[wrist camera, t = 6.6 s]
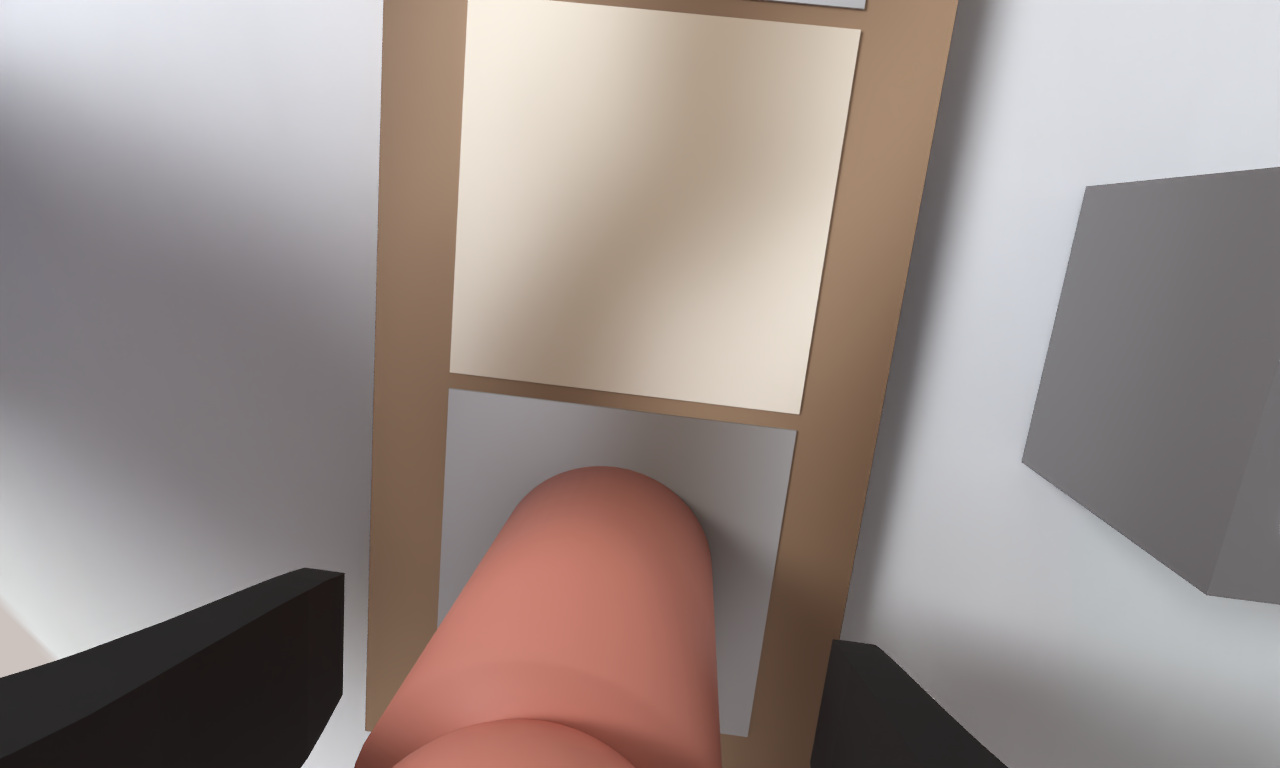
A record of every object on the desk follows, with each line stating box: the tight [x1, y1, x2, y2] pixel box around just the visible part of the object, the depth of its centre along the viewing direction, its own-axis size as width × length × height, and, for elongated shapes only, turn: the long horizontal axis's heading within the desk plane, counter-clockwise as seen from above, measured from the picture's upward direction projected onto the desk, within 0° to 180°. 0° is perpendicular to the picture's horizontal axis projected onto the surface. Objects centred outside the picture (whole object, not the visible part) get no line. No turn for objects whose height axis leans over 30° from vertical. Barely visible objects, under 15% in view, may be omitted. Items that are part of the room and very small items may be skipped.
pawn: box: [354, 466, 722, 768], centre depth 9 cm, size 4×4×9 cm
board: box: [365, 0, 958, 768], centre depth 12 cm, size 9×28×1 cm, turn 174°
